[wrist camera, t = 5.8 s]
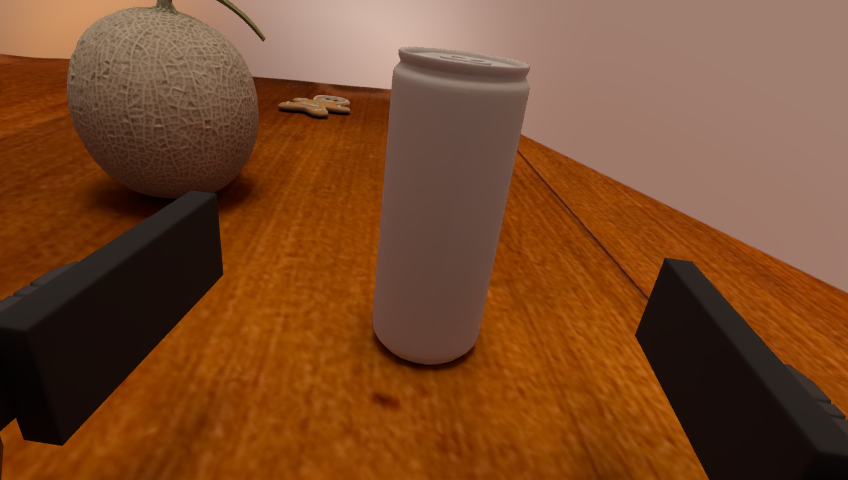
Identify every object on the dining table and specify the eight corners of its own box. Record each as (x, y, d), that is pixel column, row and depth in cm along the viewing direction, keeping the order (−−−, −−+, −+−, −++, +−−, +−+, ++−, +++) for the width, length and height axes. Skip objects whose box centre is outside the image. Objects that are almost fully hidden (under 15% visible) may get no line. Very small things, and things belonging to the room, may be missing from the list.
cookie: (268, 100, 58) (314, 90, 66) (269, 108, 58) (314, 97, 67) (328, 112, 55) (367, 101, 64) (327, 120, 56) (366, 108, 64)
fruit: (293, 209, 32) (292, -43, 26) (90, 233, 26) (20, -89, 20) (251, 162, 40) (242, -43, 33) (86, 172, 34) (35, -75, 27)
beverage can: (404, 294, 24) (433, 45, 19) (491, 327, 23) (549, 64, 17) (350, 342, 20) (367, 46, 15) (450, 388, 19) (509, 71, 13)
